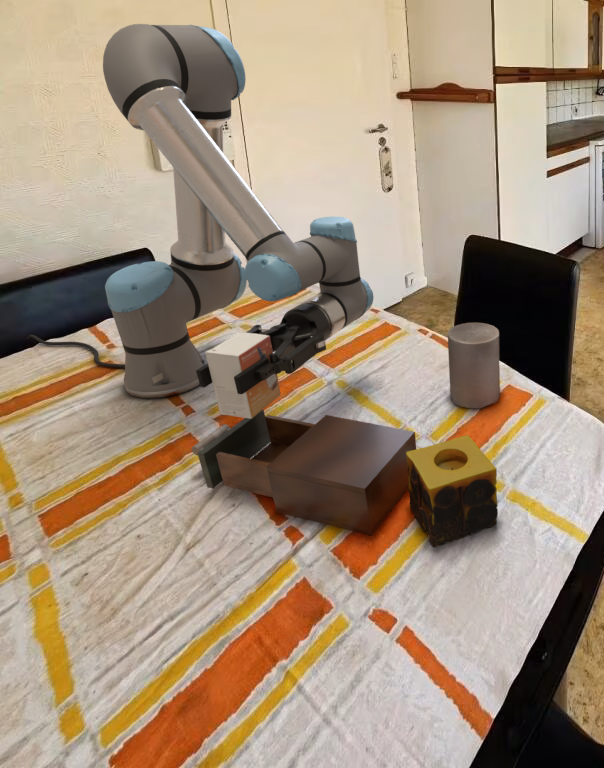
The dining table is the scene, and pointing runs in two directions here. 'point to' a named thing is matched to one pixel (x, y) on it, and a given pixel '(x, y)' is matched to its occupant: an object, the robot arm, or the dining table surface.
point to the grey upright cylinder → (474, 364)
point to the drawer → (247, 451)
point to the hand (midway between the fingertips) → (219, 382)
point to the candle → (452, 490)
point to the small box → (233, 361)
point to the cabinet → (343, 474)
